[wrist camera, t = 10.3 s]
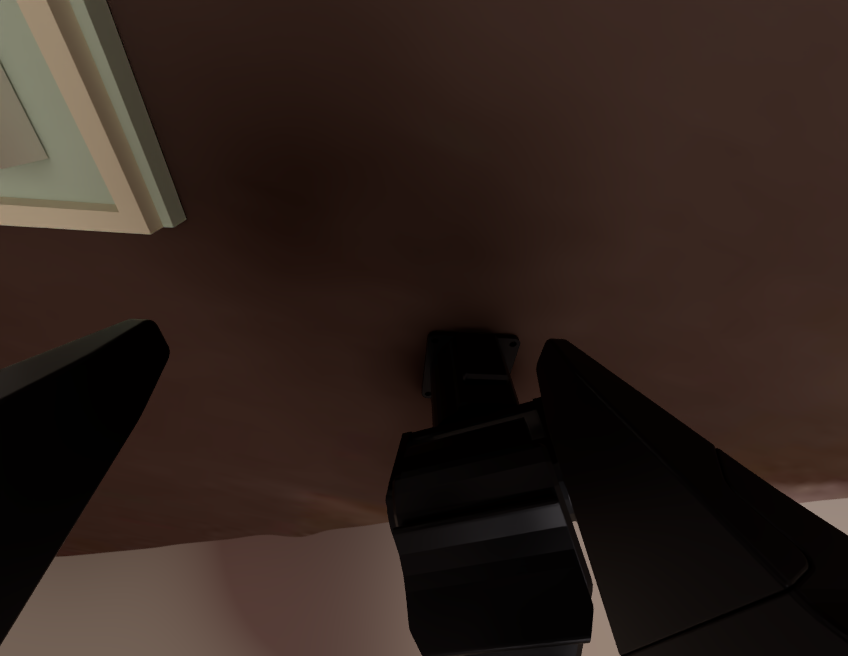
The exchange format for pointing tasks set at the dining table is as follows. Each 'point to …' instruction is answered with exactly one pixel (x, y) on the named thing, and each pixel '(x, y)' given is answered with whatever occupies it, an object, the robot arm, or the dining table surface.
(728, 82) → the dining table surface
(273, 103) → the dining table surface
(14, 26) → the shallow rectangular tray
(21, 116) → the power strip
